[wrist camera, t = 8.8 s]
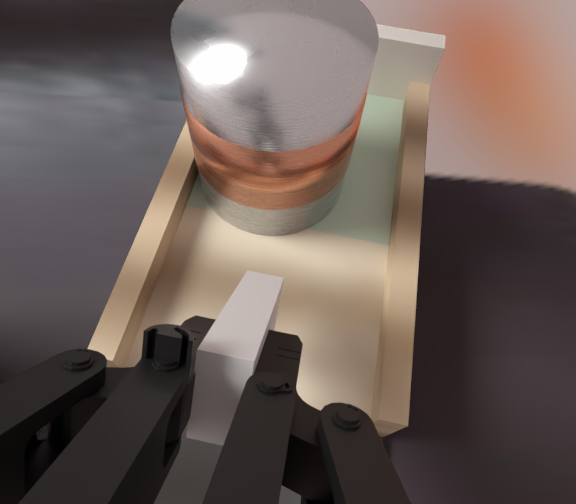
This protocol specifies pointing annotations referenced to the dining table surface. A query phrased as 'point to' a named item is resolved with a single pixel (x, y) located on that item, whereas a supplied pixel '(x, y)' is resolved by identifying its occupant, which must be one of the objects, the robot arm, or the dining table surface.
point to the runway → (294, 297)
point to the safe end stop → (375, 137)
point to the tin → (273, 104)
